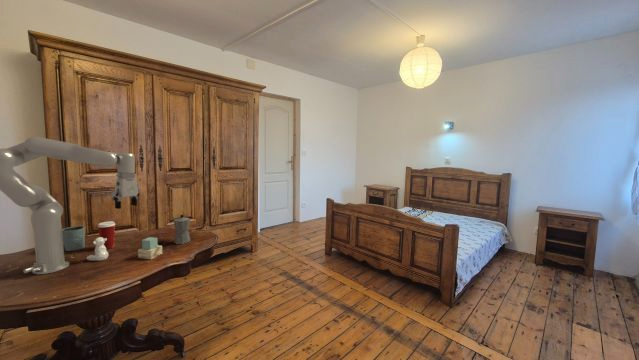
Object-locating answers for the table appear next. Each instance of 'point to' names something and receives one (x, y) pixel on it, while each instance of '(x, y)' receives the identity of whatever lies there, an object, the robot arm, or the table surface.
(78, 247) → the teal plant pot
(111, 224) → the coffee cup
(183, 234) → the coffeepot
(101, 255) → the sitting furry creature
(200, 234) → the table surface
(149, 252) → the beech block
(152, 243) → the teal cube
